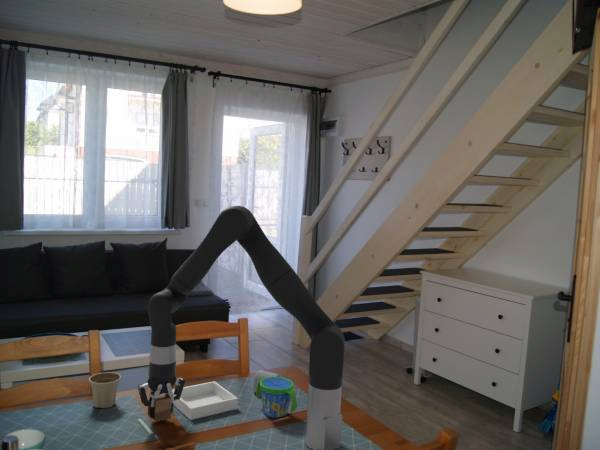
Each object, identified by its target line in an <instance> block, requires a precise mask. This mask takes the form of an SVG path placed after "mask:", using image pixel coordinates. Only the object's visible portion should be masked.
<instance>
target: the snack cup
mask: <svg viewBox="0 0 600 450" xmlns="http://www.w3.org/2000/svg"><path fill="white" fill-rule="evenodd" d="M294 386H295V384H294V382H293V381H292V380H291V379H289V378H285V377H282V376H280V377H268V378H264V379H263V380H261V381H259V383H258V385H257V389H256V393H255V396H256V397H257V398H260V397H261V405H262V414H263V415H264V416H265V417H268V418H269V417H270V418H272V419H273V418H274V419H275V418H276V419H277V418H284V417H285V416H286V415H287V414H288V412H289V406H290V401H291V402H292V403H291V407H290V413H293V412H295V411H296V410H297V407H298V403H297V401H298V400H297V396H296V393H295V390H294Z"/></svg>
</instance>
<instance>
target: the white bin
mask: <svg viewBox="0 0 600 450" xmlns="http://www.w3.org/2000/svg"><path fill="white" fill-rule="evenodd" d="M172 391H173V394H174V391H175V388H173V389H172ZM238 398H239V397H237V396H236V395H235V394H233V393H231V391H228V390H227V389H226V388H224V387H223V386H221V384H219V383H218V382H217V381H215V380H214V381H209V382H204V383H198V384H194V385H188V386H184V387H183V390H182V394H181V397H180V399H179V400H175V401H174V403H173V407H176V409H178V411H180V412H181V413H182V414H183V415H184V416H185V417H186V418H187V419H188V420H189V421H191V420H192V421H193V420H196V419H201V418H205V417H210V416H215V415H218V414H222V413H225V412H229V411H235V410H238V401H239V399H238Z"/></svg>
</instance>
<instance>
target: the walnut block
mask: <svg viewBox="0 0 600 450" xmlns="http://www.w3.org/2000/svg"><path fill="white" fill-rule="evenodd" d="M171 400H172V398H171V397H169V396H168V395H166V394H165V393H163V394H160V395H159V396H158V399H157V400H155V406H154V407H155V416H154V419H153V421H155V422H156V423H157V422H161V421H165V420H169V419H171V418H172V413H171Z"/></svg>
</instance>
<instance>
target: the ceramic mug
mask: <svg viewBox="0 0 600 450" xmlns="http://www.w3.org/2000/svg"><path fill="white" fill-rule="evenodd" d="M268 377H281V375H279V374H278V373H274V372H270V371H265V370H260V369H259V370H257V371H256V373H255V375H254V378H253V383H252V392H253V393H255V394H256V389H257V385H258V383H259V381H261V380H263V379H264V378H268Z"/></svg>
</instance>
